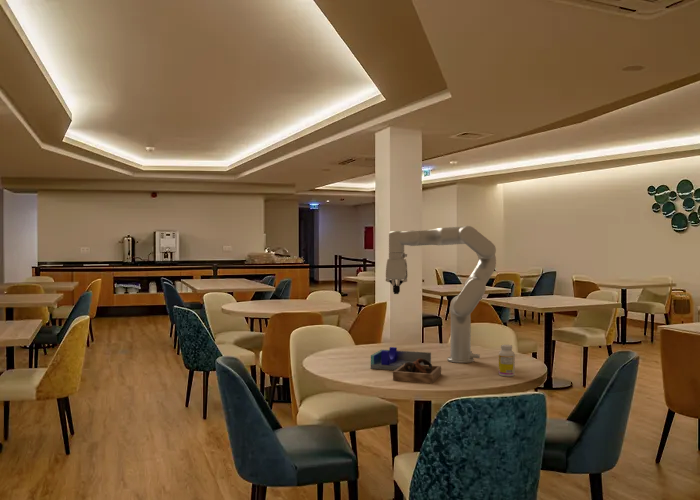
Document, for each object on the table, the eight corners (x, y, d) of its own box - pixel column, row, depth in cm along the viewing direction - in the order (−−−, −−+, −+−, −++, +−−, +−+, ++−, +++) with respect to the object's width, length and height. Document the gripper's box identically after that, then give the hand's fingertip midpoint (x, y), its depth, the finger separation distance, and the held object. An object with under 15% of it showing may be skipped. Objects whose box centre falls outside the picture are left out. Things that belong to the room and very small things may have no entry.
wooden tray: (441, 374, 263) (441, 366, 263) (432, 383, 246) (432, 374, 246) (404, 371, 269) (404, 363, 269) (393, 380, 251) (393, 371, 251)
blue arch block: (387, 359, 287) (387, 346, 287) (396, 360, 285) (396, 347, 285) (378, 363, 276) (378, 350, 276) (387, 364, 274) (387, 351, 274)
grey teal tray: (431, 365, 283) (431, 352, 283) (423, 372, 267) (423, 358, 267) (381, 362, 291) (381, 349, 291) (370, 368, 275) (370, 355, 275)
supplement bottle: (502, 373, 266) (502, 343, 266) (517, 375, 262) (517, 345, 262) (495, 375, 261) (496, 345, 261) (510, 377, 257) (510, 347, 257)
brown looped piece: (423, 373, 267) (430, 358, 264) (429, 387, 259) (437, 372, 256) (398, 368, 264) (406, 353, 261) (403, 382, 255) (411, 366, 252)
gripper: (413, 256, 298) (413, 293, 298) (383, 256, 303) (383, 293, 303) (409, 256, 291) (409, 294, 291) (379, 256, 296) (379, 294, 296)
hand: (396, 293), depth 297 cm, fingers closed
